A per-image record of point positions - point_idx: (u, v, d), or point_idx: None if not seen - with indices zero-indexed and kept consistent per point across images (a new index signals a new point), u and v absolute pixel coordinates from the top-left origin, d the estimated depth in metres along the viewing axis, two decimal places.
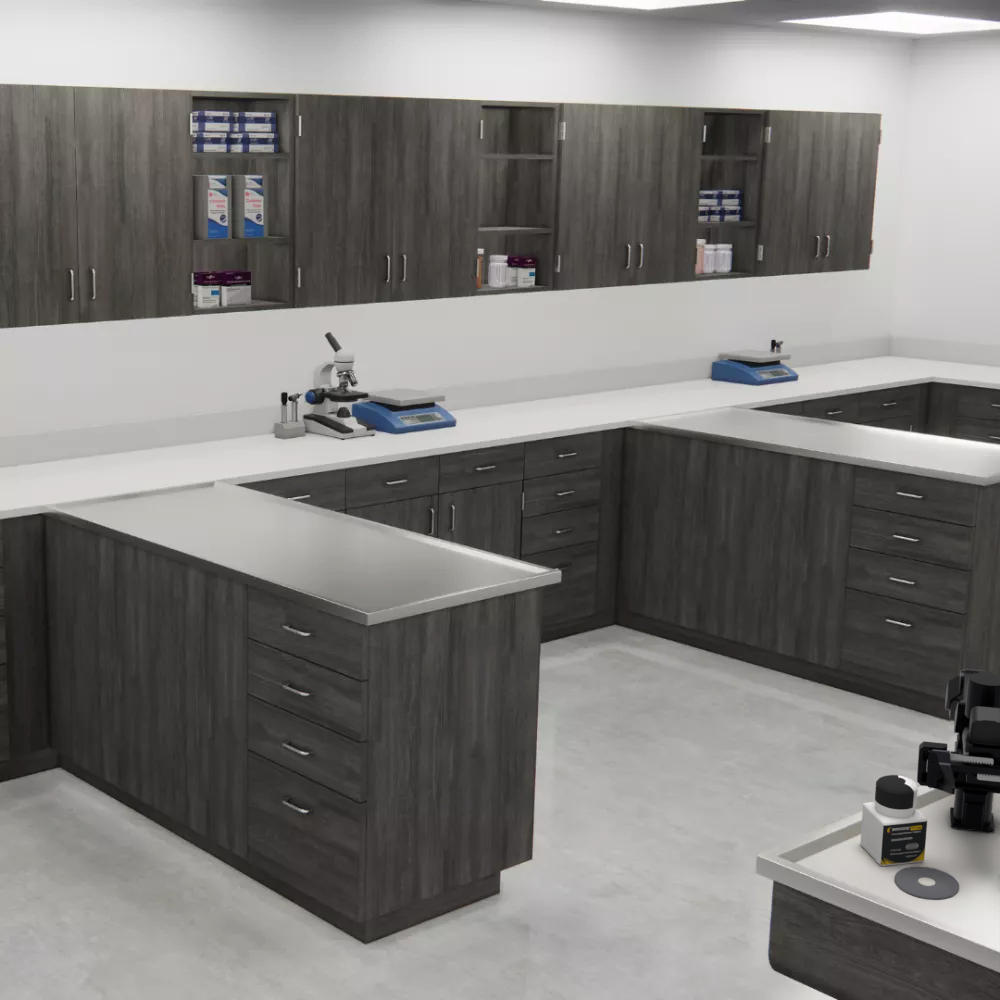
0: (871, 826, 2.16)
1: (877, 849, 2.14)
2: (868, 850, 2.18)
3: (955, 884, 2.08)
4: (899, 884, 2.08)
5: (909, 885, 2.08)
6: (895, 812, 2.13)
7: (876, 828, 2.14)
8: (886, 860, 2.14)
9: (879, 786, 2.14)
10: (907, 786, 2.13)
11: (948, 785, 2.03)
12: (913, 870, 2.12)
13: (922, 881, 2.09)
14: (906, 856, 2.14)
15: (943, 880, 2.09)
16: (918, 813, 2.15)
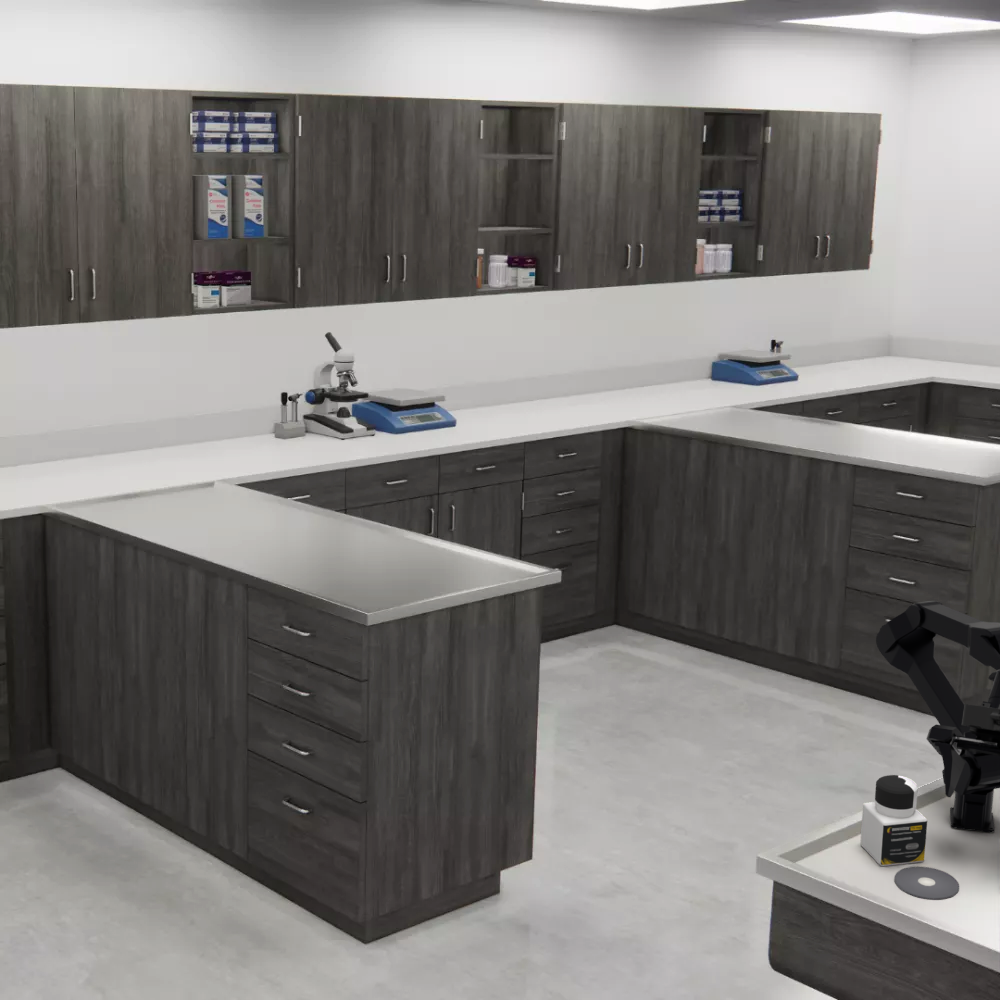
0: (871, 827, 2.16)
1: (877, 849, 2.14)
2: (868, 850, 2.18)
3: (955, 884, 2.08)
4: (899, 884, 2.08)
5: (909, 885, 2.08)
6: (895, 812, 2.13)
7: (876, 829, 2.14)
8: (886, 860, 2.14)
9: (879, 786, 2.14)
10: (907, 786, 2.13)
11: None
12: (913, 870, 2.12)
13: (922, 881, 2.09)
14: (906, 856, 2.14)
15: (943, 880, 2.09)
16: (918, 813, 2.15)
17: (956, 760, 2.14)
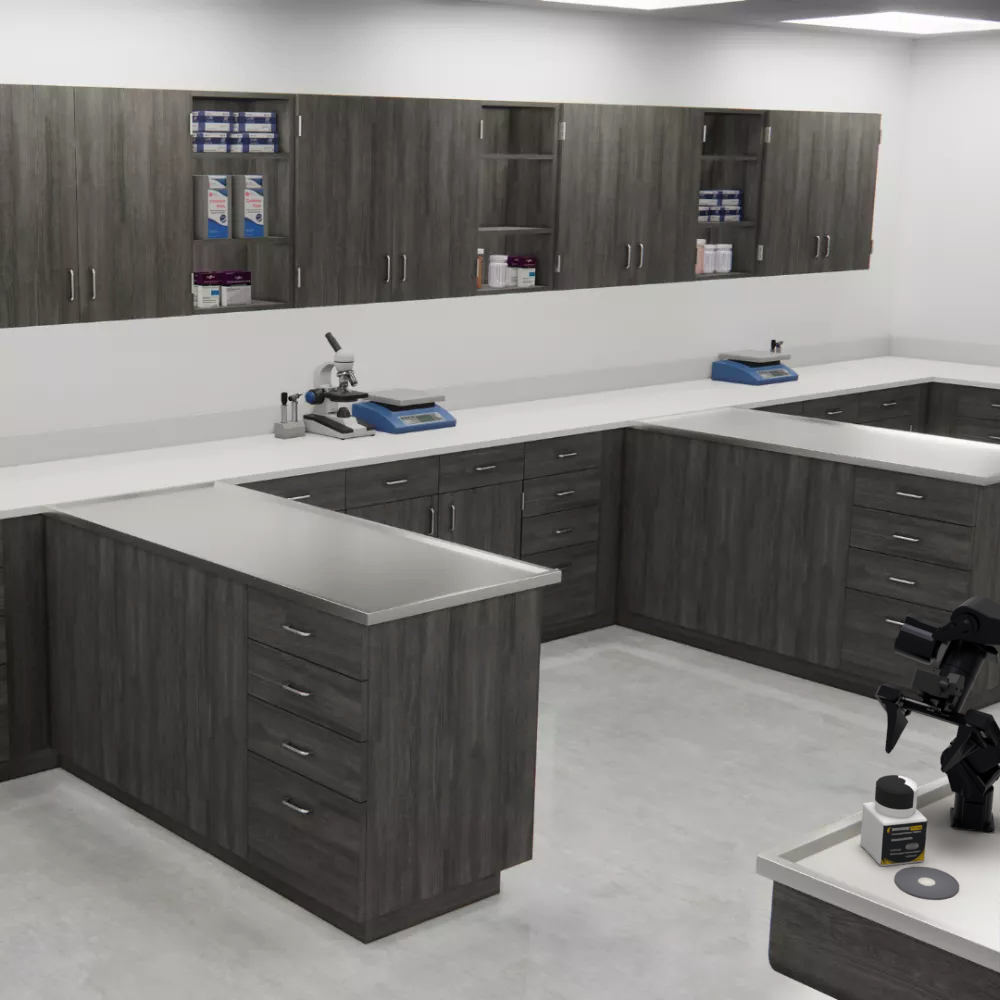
0: (871, 827, 2.16)
1: (877, 849, 2.14)
2: (868, 850, 2.18)
3: (955, 884, 2.08)
4: (899, 884, 2.08)
5: (909, 885, 2.08)
6: (895, 812, 2.13)
7: (876, 829, 2.14)
8: (886, 860, 2.14)
9: (879, 786, 2.14)
10: (907, 786, 2.13)
11: None
12: (913, 870, 2.12)
13: (922, 881, 2.09)
14: (906, 856, 2.14)
15: (943, 880, 2.09)
16: (918, 813, 2.15)
17: (900, 719, 2.23)
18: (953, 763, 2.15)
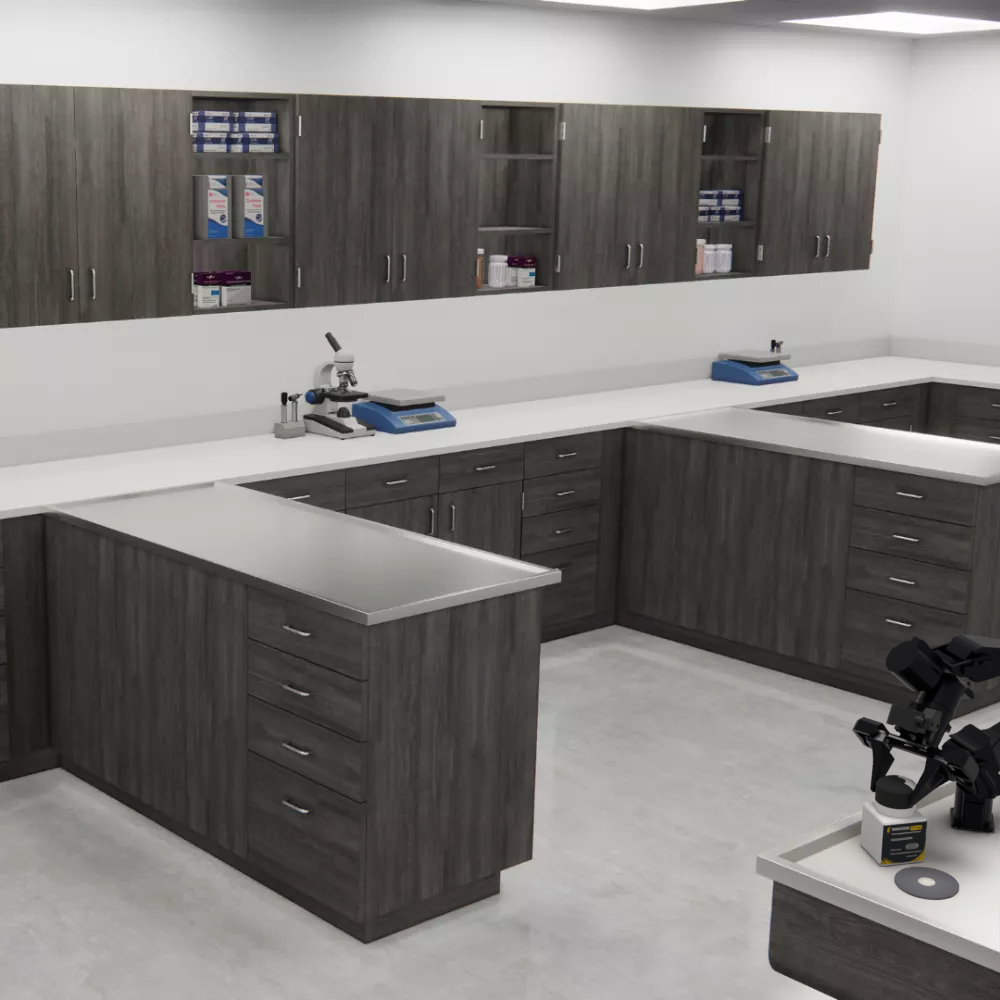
0: (871, 826, 2.16)
1: (877, 849, 2.14)
2: (868, 850, 2.18)
3: (955, 884, 2.08)
4: (899, 884, 2.08)
5: (909, 885, 2.08)
6: (895, 812, 2.13)
7: (876, 828, 2.14)
8: (886, 860, 2.14)
9: (879, 786, 2.14)
10: (907, 786, 2.13)
11: None
12: (913, 870, 2.12)
13: (922, 881, 2.09)
14: (906, 856, 2.14)
15: (943, 880, 2.09)
16: (918, 813, 2.15)
17: (886, 756, 2.19)
18: (921, 796, 2.13)
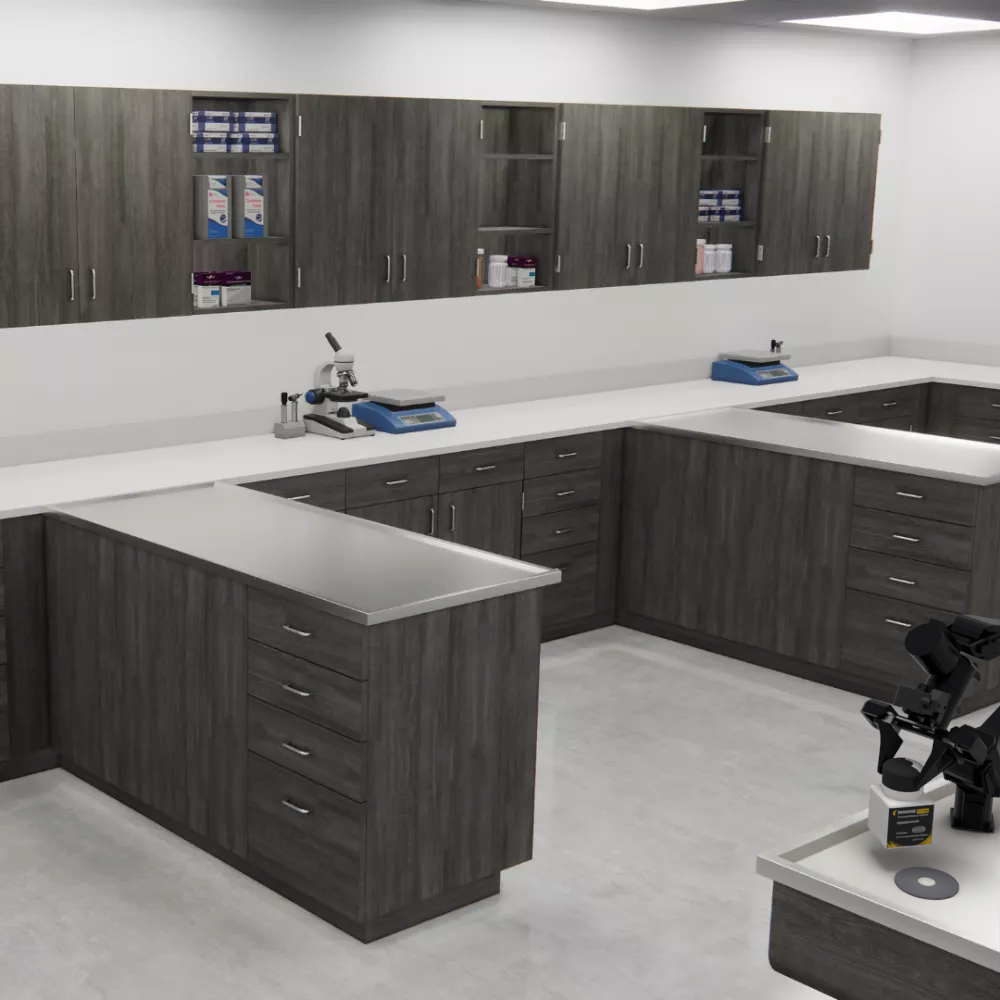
0: (878, 809, 2.14)
1: (883, 832, 2.12)
2: (875, 833, 2.15)
3: (955, 884, 2.08)
4: (899, 884, 2.08)
5: (909, 885, 2.08)
6: (901, 795, 2.11)
7: (882, 811, 2.12)
8: (892, 843, 2.11)
9: (886, 769, 2.12)
10: (913, 769, 2.11)
11: None
12: (913, 870, 2.12)
13: (922, 881, 2.09)
14: (912, 839, 2.12)
15: (943, 880, 2.09)
16: (925, 796, 2.12)
17: (893, 738, 2.16)
18: (928, 779, 2.10)
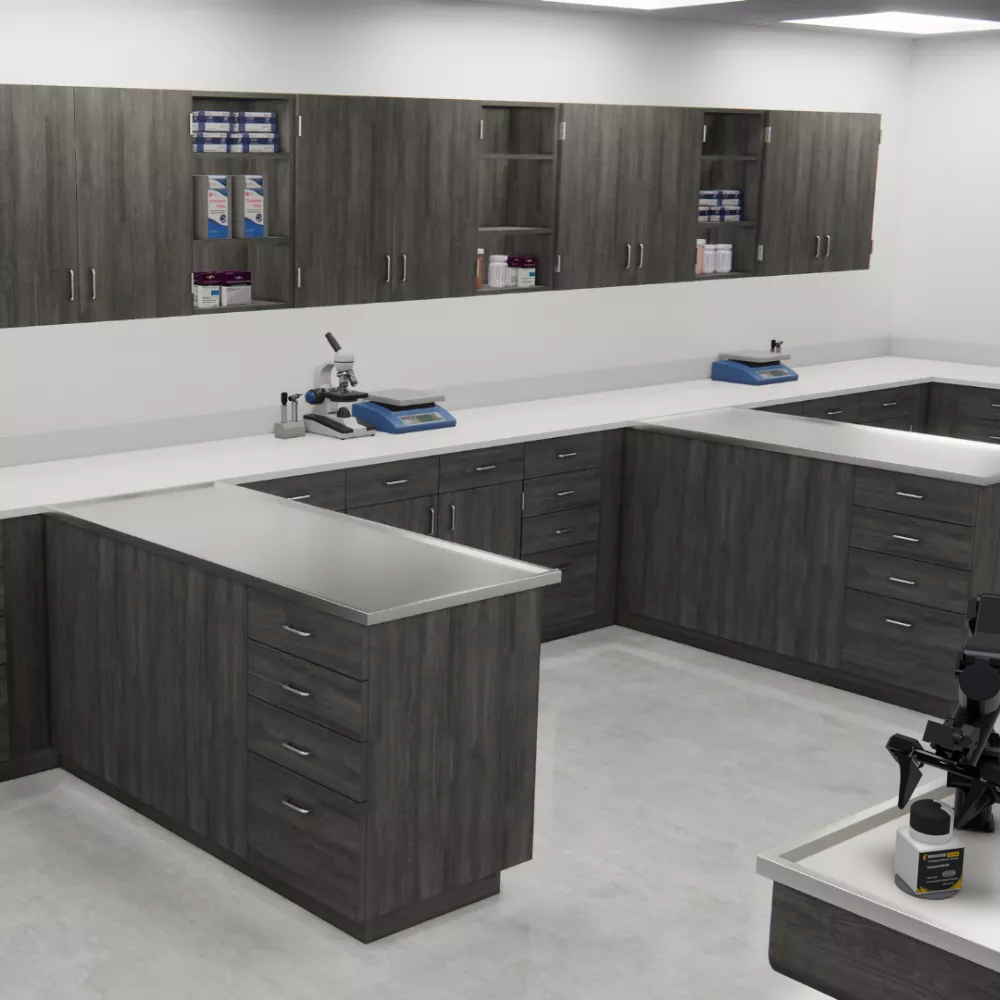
0: (906, 853, 2.07)
1: (913, 876, 2.06)
2: (902, 877, 2.09)
3: None
4: (899, 884, 2.08)
5: None
6: (931, 838, 2.04)
7: (912, 855, 2.06)
8: (922, 889, 2.05)
9: (914, 811, 2.06)
10: (943, 811, 2.05)
11: None
12: None
13: None
14: (942, 883, 2.06)
15: None
16: (955, 839, 2.06)
17: (913, 772, 2.10)
18: (966, 820, 2.03)
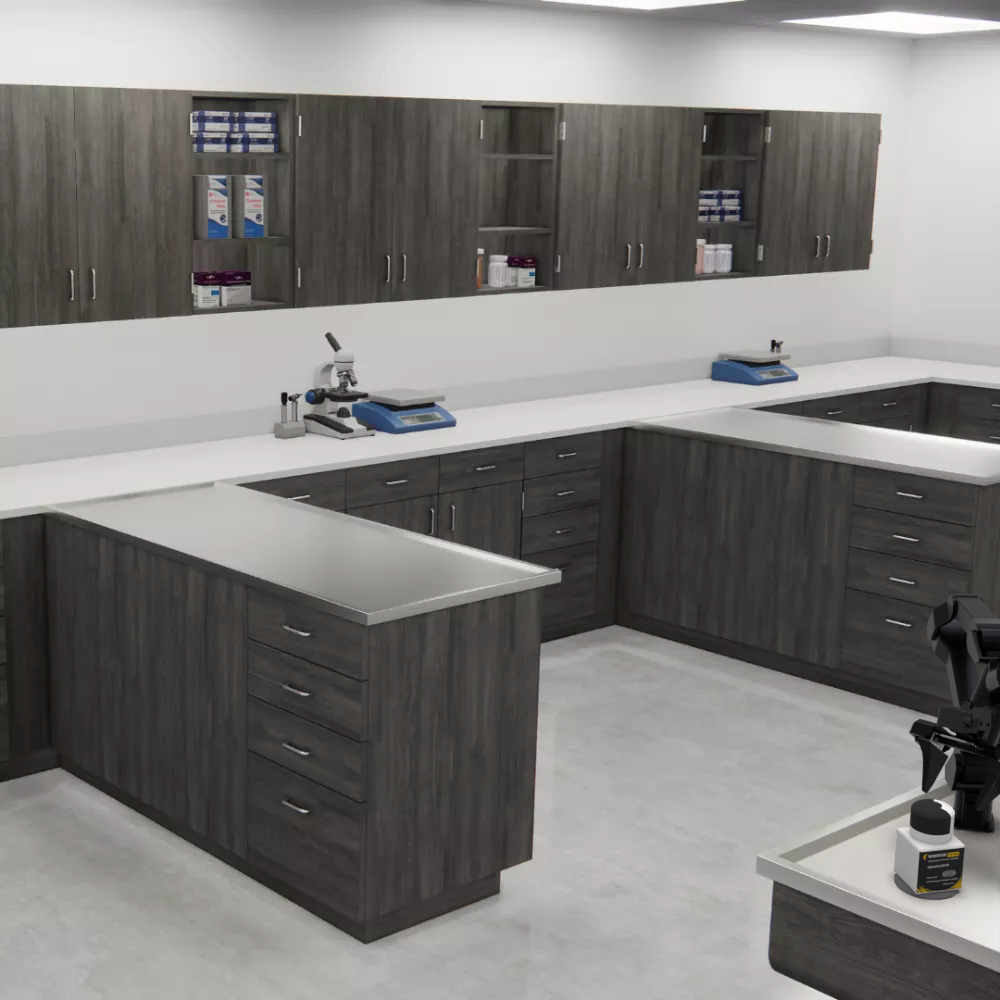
0: (906, 853, 2.07)
1: (913, 876, 2.06)
2: (902, 877, 2.09)
3: None
4: (899, 884, 2.08)
5: None
6: (931, 838, 2.04)
7: (912, 855, 2.06)
8: (922, 888, 2.05)
9: (915, 811, 2.06)
10: (943, 811, 2.05)
11: None
12: None
13: None
14: (942, 883, 2.06)
15: None
16: (955, 839, 2.06)
17: (936, 755, 2.15)
18: (989, 800, 2.07)
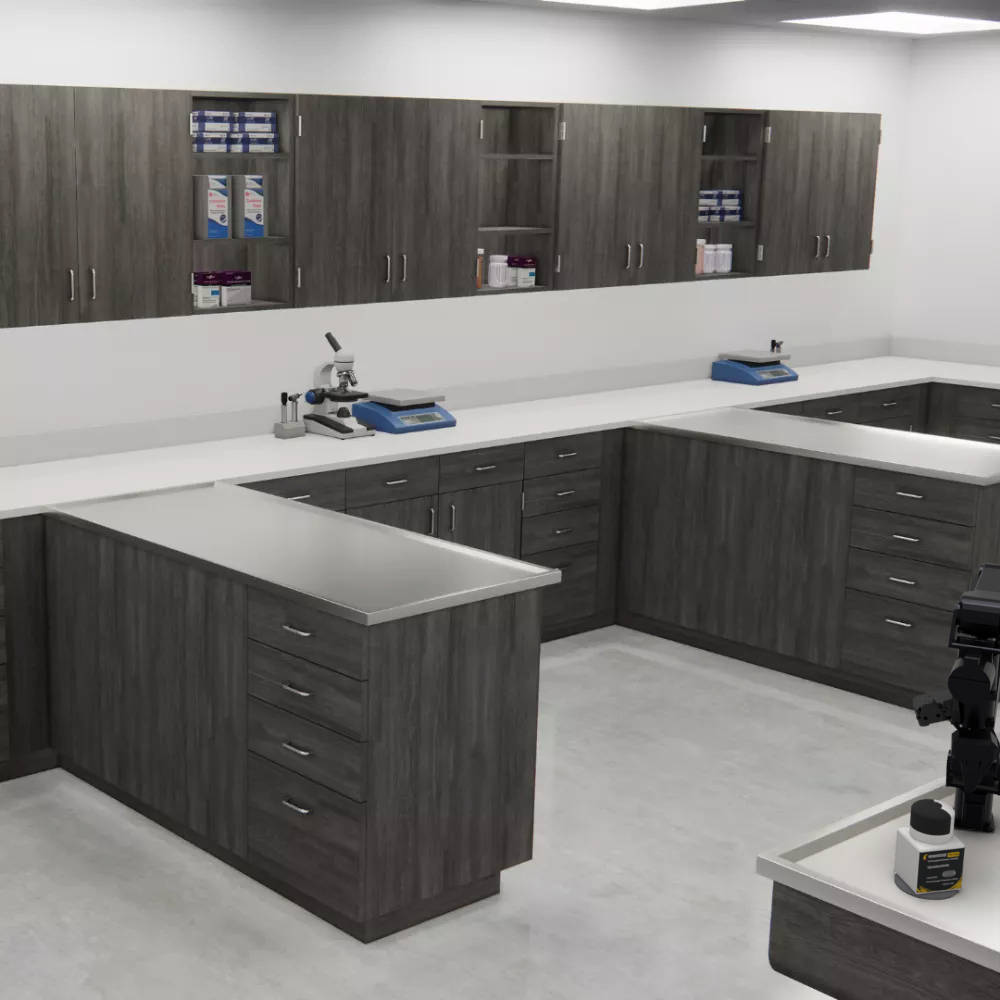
0: (906, 853, 2.07)
1: (913, 876, 2.06)
2: (902, 877, 2.09)
3: None
4: (899, 884, 2.08)
5: None
6: (931, 838, 2.04)
7: (912, 855, 2.06)
8: (922, 888, 2.05)
9: (915, 811, 2.06)
10: (943, 811, 2.05)
11: None
12: None
13: None
14: (942, 884, 2.06)
15: None
16: (955, 839, 2.06)
17: None
18: (974, 782, 2.07)
